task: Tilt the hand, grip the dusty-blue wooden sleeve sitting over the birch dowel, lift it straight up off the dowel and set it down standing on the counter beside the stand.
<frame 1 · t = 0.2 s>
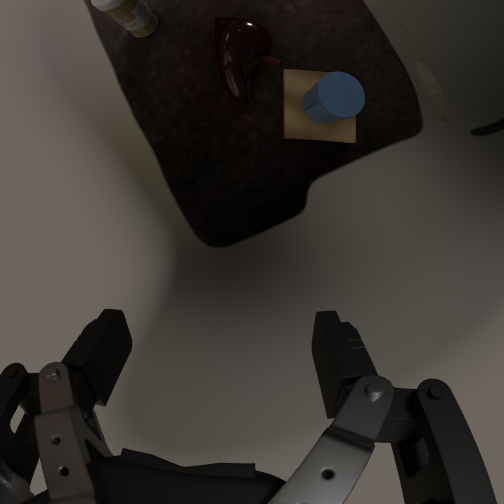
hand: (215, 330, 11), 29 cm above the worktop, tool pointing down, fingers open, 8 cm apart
blue sleeve: (321, 104, 31), point 1 cm above the worktop, touching dowel stand
sprinkles bottle: (146, 26, 27), on the worktop
dowel stand: (319, 106, 33), on the worktop
dark red glossy lump: (239, 61, 30), on the worktop
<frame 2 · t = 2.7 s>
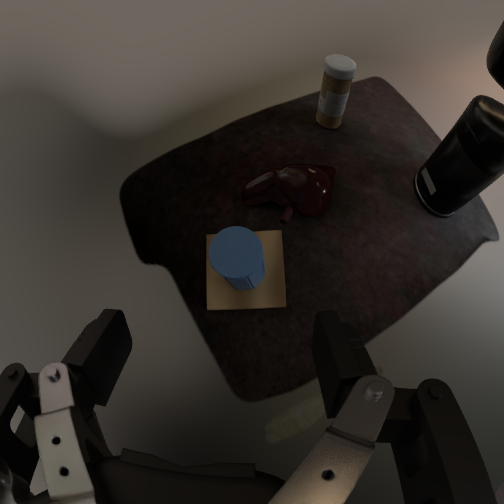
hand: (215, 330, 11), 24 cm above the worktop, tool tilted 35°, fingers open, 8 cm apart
blue sleeve: (244, 269, 35), point 1 cm above the worktop, touching dowel stand
sprinkles bottle: (328, 121, 42), on the worktop
dowel stand: (245, 271, 36), on the worktop
dark red glossy lump: (288, 194, 39), on the worktop
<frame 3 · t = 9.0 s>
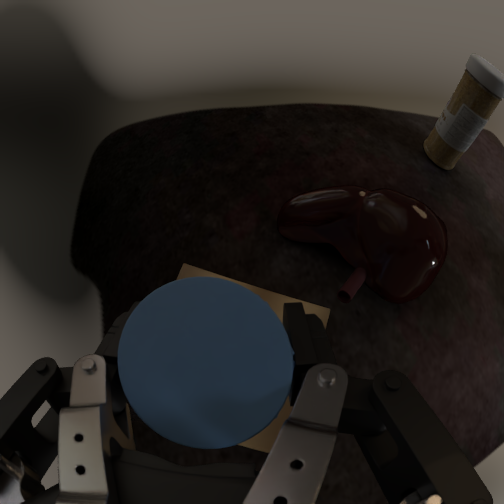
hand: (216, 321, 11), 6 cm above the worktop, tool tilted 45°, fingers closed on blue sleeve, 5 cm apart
blue sleeve: (229, 361, 15), point 1 cm above the worktop, touching dowel stand, gripper
sprinkles bottle: (437, 156, 24), on the worktop
dowel stand: (230, 361, 16), on the worktop
dark red glossy lump: (360, 243, 20), on the worktop
when the fingers open (5 cm above the worktop, at t = 18.8 s): blue sleeve stays where it is, on the worktop.
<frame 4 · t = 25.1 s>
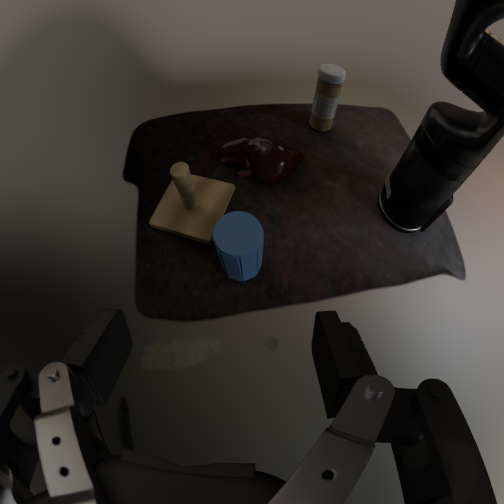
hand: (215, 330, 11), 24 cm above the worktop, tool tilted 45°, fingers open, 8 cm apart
blue sleeve: (241, 262, 37), on the worktop
sprinkles bottle: (320, 125, 47), on the worktop
dowel stand: (193, 207, 40), on the worktop
dark red glossy lump: (256, 164, 44), on the worktop
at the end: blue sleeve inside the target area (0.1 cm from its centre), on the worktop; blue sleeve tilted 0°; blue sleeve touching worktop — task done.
